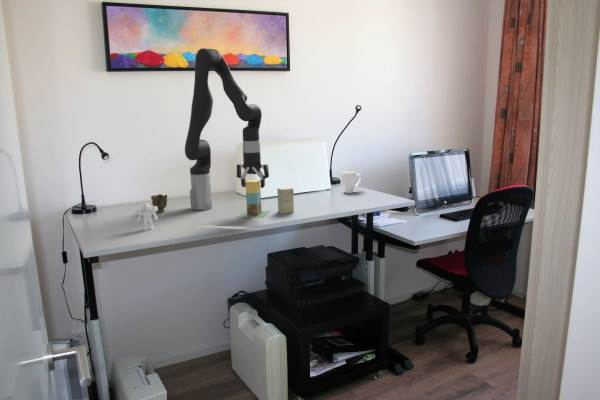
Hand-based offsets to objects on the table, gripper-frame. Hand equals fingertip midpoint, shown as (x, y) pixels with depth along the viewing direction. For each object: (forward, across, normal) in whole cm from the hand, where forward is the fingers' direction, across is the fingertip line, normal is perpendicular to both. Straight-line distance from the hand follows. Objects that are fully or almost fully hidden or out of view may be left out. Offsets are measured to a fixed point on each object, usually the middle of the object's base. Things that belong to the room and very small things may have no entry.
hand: (253, 187), depth 210 cm
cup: (+13, -48, +1) cm, 50 cm away
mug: (+13, +35, +60) cm, 71 cm away
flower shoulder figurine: (+13, -37, -27) cm, 48 cm away
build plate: (+13, 0, 0) cm, 13 cm away
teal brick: (+7, 0, 0) cm, 7 cm away
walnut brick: (+12, 0, 0) cm, 12 cm away
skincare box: (+13, +13, +6) cm, 20 cm away
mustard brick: (+2, 0, 0) cm, 2 cm away
